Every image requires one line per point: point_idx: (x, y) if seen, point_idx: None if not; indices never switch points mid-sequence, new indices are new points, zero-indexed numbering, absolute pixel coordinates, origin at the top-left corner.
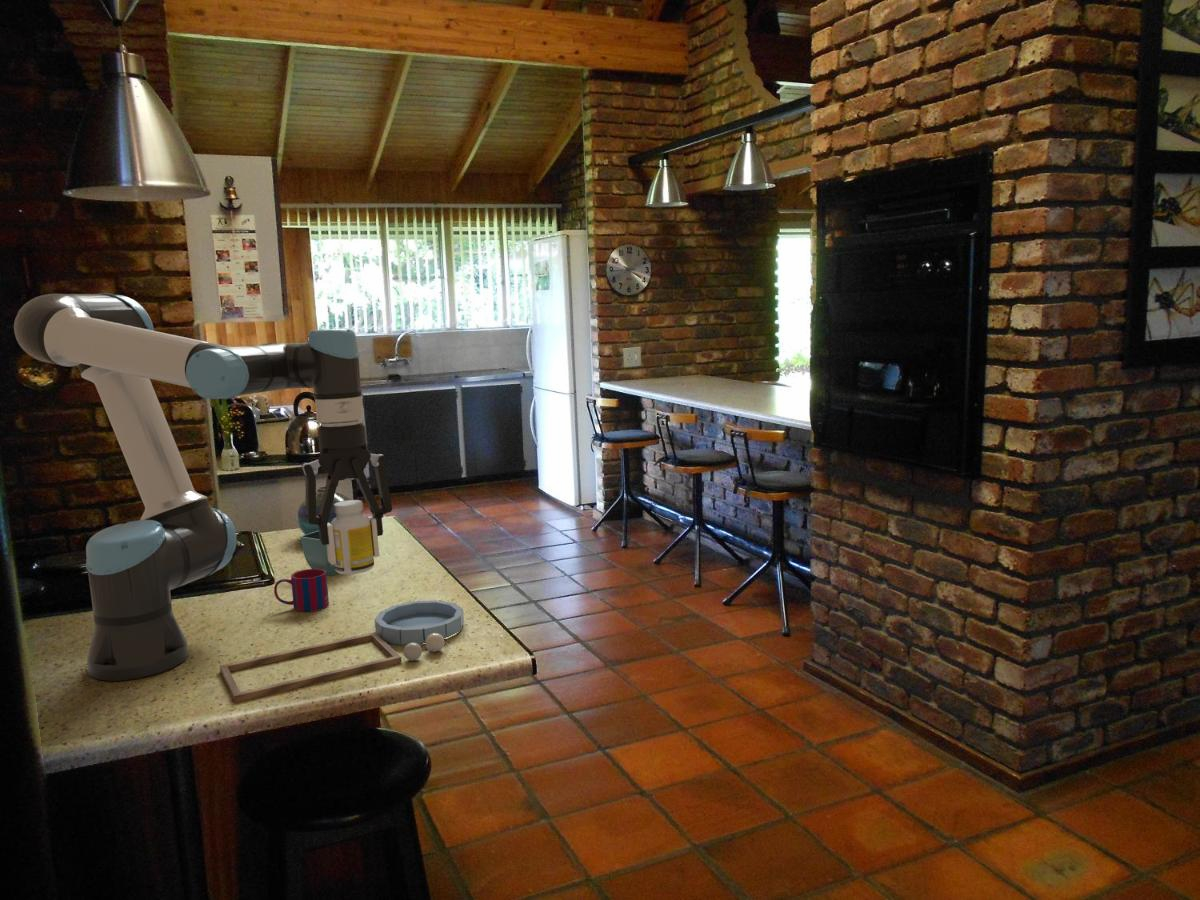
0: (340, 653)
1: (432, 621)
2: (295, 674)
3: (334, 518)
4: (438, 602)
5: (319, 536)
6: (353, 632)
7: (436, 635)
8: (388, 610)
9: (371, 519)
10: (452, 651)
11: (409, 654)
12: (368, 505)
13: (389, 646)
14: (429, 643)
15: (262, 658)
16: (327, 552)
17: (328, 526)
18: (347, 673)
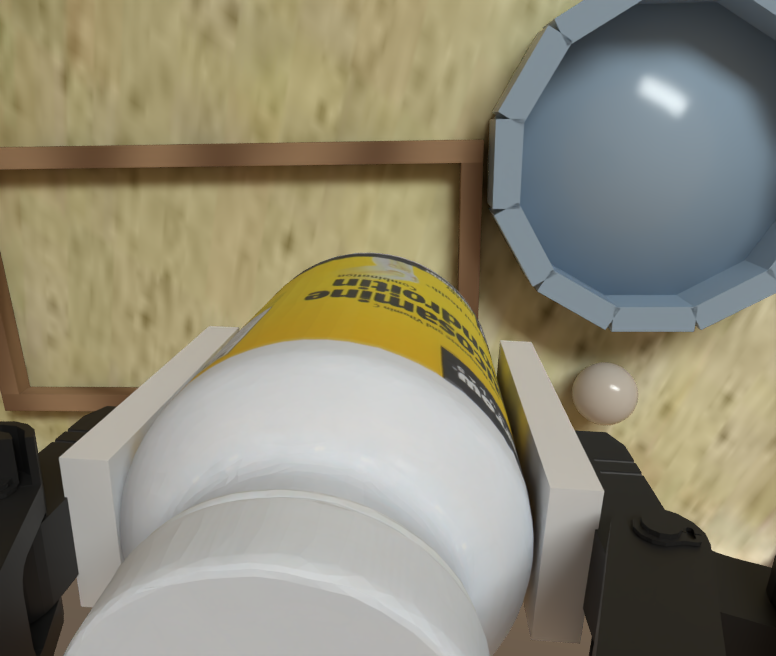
0: (332, 219)
1: (716, 144)
2: (177, 308)
3: (148, 514)
4: None
5: (63, 437)
6: (427, 25)
7: (613, 419)
8: (591, 23)
9: (534, 629)
10: (637, 409)
11: None
12: (596, 636)
13: (475, 311)
14: (579, 410)
15: (77, 167)
16: (186, 348)
17: (86, 604)
18: None
